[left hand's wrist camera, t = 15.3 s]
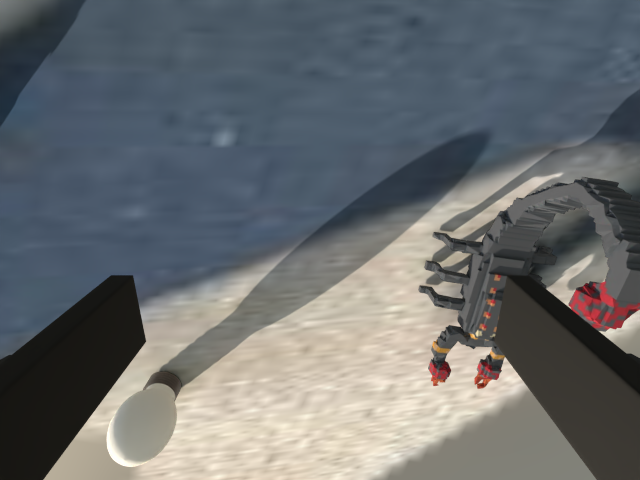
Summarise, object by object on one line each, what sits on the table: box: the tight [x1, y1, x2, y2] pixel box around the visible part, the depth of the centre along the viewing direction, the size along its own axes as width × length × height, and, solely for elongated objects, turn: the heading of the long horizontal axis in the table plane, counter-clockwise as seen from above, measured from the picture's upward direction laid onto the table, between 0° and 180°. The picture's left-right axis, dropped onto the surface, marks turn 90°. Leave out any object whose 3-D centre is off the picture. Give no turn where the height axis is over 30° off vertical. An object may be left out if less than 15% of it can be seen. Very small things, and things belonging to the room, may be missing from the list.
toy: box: [419, 177, 640, 389], centre depth 33 cm, size 13×27×18 cm, turn 172°
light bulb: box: [107, 372, 181, 467], centre depth 42 cm, size 7×7×11 cm
